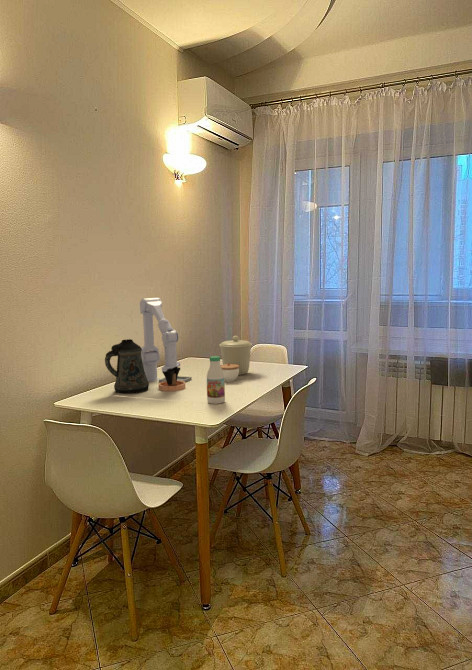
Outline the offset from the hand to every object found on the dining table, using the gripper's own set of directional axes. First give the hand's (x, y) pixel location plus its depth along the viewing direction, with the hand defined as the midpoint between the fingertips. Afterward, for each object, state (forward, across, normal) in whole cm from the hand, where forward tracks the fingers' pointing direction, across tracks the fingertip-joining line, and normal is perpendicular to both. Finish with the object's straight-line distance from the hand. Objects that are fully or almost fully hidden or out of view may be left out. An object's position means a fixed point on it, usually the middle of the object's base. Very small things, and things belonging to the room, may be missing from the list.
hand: (171, 383), depth 252 cm
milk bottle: (+3, -16, -31) cm, 35 cm away
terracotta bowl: (+3, 0, 0) cm, 3 cm away
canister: (+3, +43, -16) cm, 46 cm away
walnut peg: (+2, 0, 0) cm, 2 cm away
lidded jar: (+3, +26, -19) cm, 32 cm away
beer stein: (+3, -11, +17) cm, 20 cm away
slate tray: (+3, +14, +6) cm, 15 cm away
